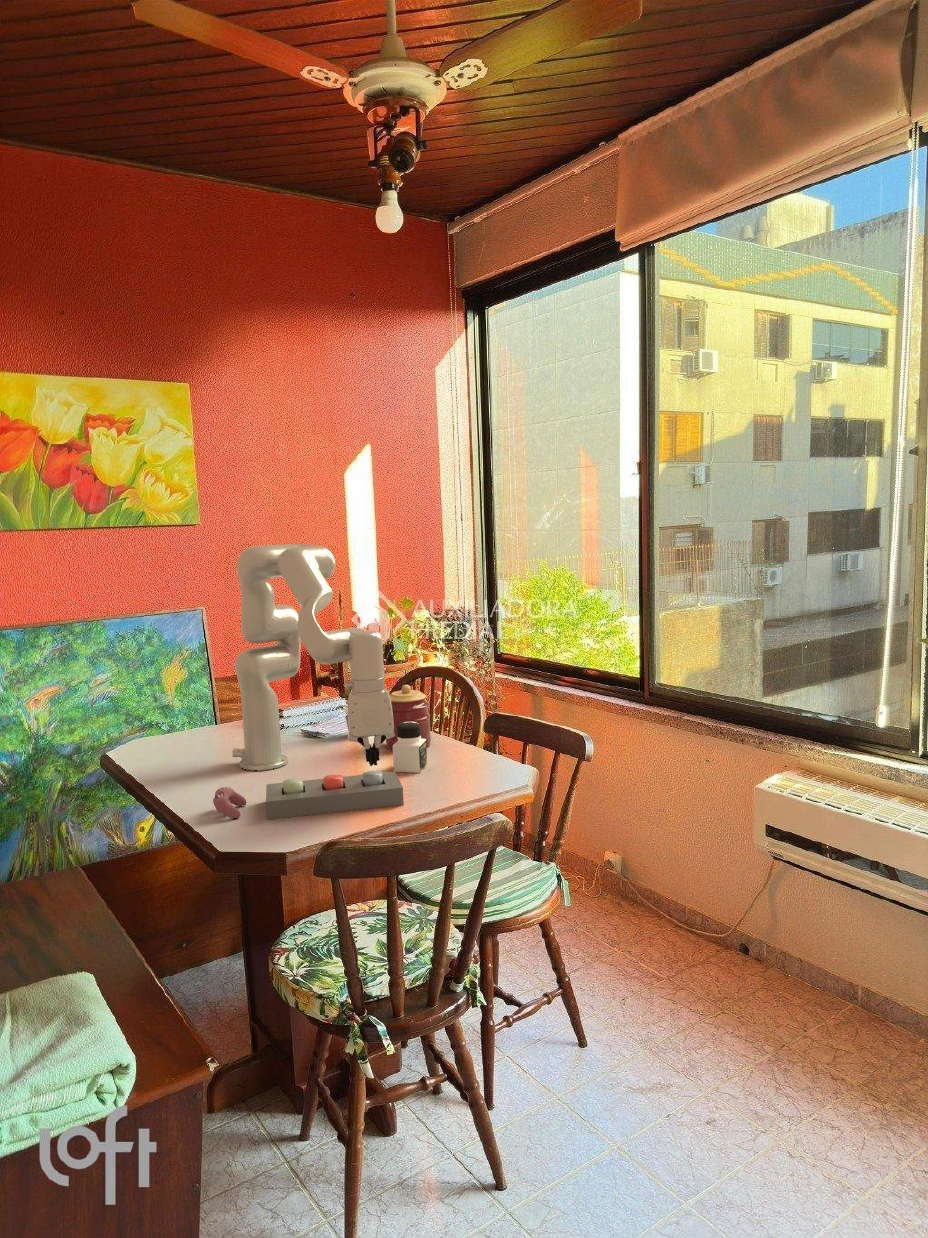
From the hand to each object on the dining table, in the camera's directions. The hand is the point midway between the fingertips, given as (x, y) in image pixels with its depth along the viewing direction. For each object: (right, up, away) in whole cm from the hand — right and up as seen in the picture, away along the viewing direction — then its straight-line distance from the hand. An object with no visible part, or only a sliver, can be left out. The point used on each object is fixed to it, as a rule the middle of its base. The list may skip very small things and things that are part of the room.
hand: (373, 764), depth 195 cm
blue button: (0, -5, +1) cm, 6 cm away
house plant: (-12, -2, +61) cm, 62 cm away
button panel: (-9, -9, -1) cm, 12 cm away
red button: (-9, -6, -1) cm, 11 cm away
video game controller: (-31, -10, -5) cm, 33 cm away
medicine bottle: (+7, -6, +24) cm, 26 cm away
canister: (+5, -3, +47) cm, 48 cm away
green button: (-18, -7, -3) cm, 19 cm away
